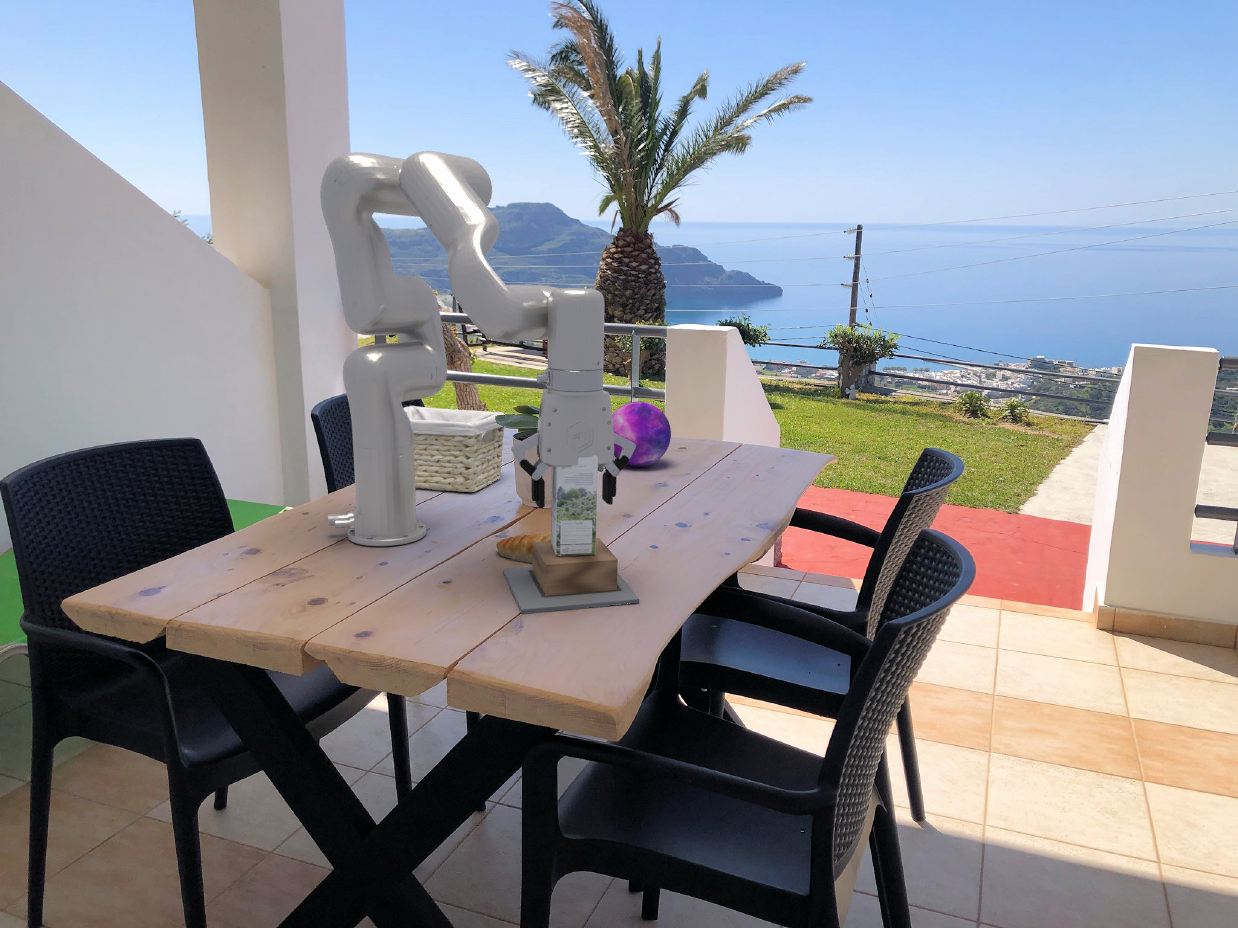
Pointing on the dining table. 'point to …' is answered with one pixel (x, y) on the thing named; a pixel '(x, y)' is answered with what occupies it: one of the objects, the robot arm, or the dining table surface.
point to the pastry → (520, 546)
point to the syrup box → (574, 508)
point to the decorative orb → (642, 432)
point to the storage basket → (455, 448)
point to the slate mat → (533, 601)
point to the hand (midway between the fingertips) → (573, 503)
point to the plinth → (573, 571)
